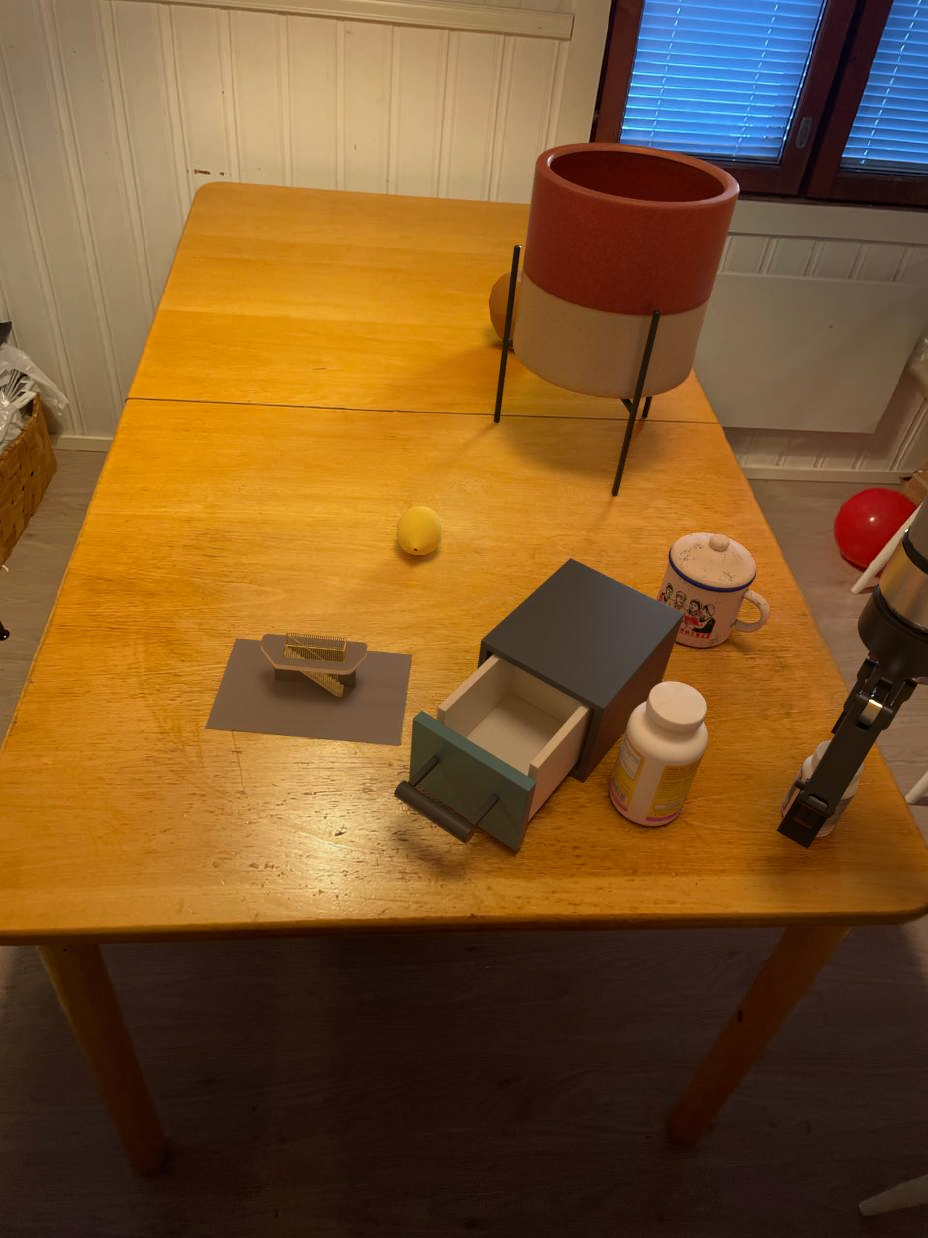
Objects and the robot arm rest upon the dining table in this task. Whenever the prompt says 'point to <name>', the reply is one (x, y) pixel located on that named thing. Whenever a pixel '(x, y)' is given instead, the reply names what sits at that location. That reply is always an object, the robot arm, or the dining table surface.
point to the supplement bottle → (660, 754)
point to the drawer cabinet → (590, 648)
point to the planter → (617, 271)
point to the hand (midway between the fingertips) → (820, 784)
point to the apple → (503, 304)
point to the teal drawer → (494, 752)
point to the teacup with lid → (710, 588)
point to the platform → (313, 689)
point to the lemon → (419, 530)
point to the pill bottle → (806, 773)
